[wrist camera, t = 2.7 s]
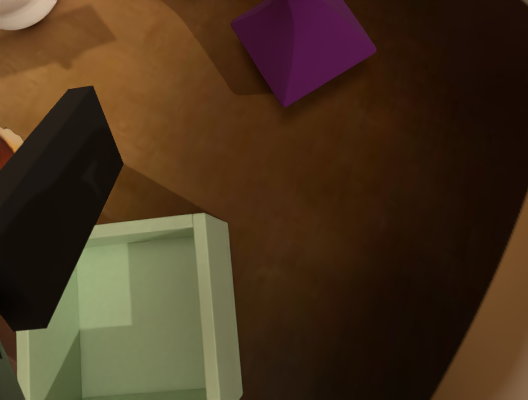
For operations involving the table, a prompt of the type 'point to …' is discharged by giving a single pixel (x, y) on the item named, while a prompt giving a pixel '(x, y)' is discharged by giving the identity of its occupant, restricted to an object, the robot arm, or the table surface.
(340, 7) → the perfume bottle
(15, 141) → the vessel
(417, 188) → the table surface
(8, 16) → the jar
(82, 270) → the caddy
